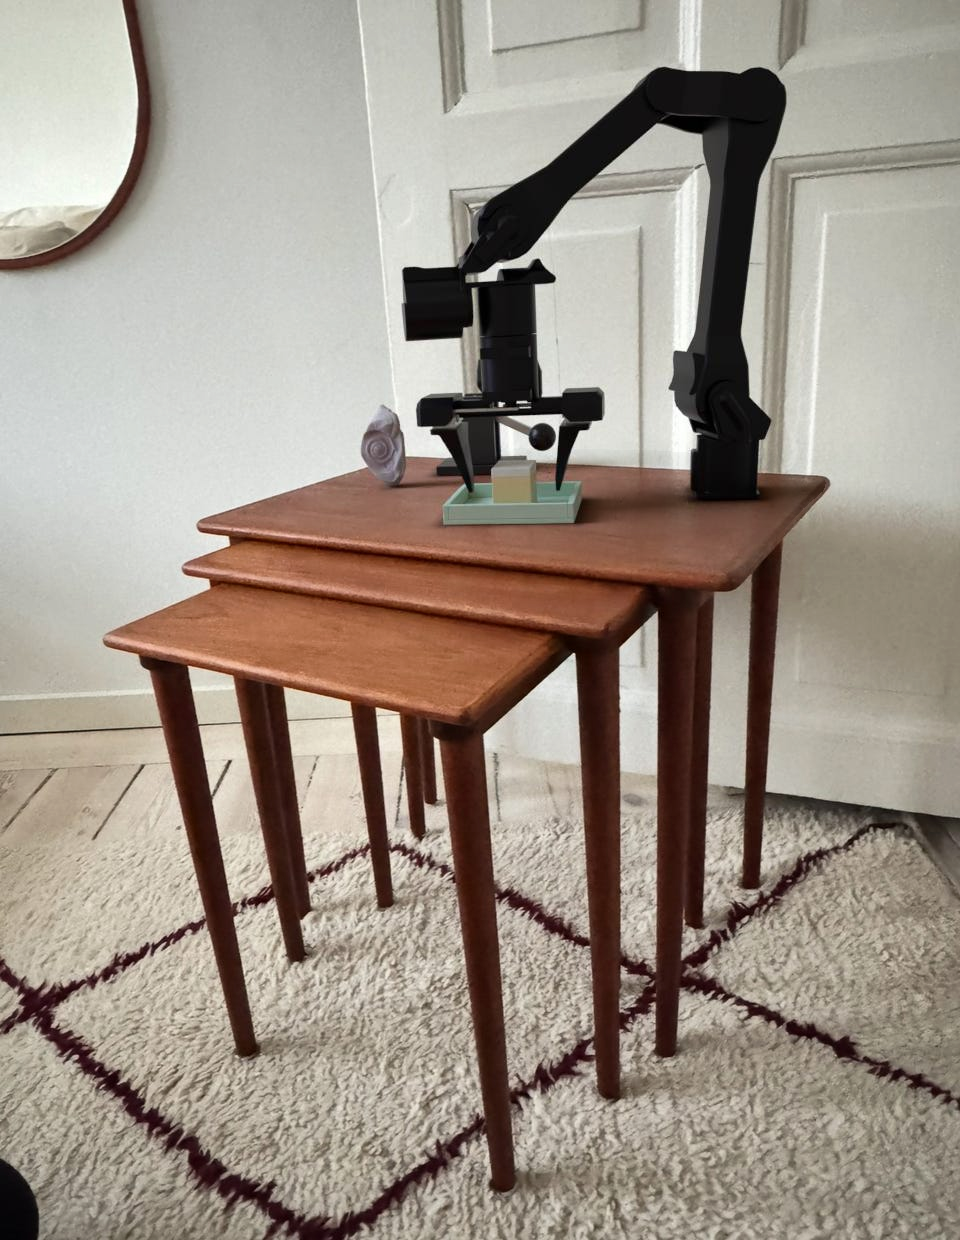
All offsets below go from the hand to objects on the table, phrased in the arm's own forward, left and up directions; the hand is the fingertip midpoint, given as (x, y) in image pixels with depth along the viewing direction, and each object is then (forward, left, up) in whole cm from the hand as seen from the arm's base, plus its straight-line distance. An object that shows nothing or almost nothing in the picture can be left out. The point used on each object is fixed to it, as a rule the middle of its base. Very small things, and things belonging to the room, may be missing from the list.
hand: (514, 491), depth 93 cm
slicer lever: (+4, -25, +2) cm, 25 cm away
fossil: (+18, -15, -2) cm, 24 cm away
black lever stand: (+8, -25, -2) cm, 26 cm away
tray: (0, 0, -2) cm, 2 cm away
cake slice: (0, 0, -2) cm, 2 cm away
